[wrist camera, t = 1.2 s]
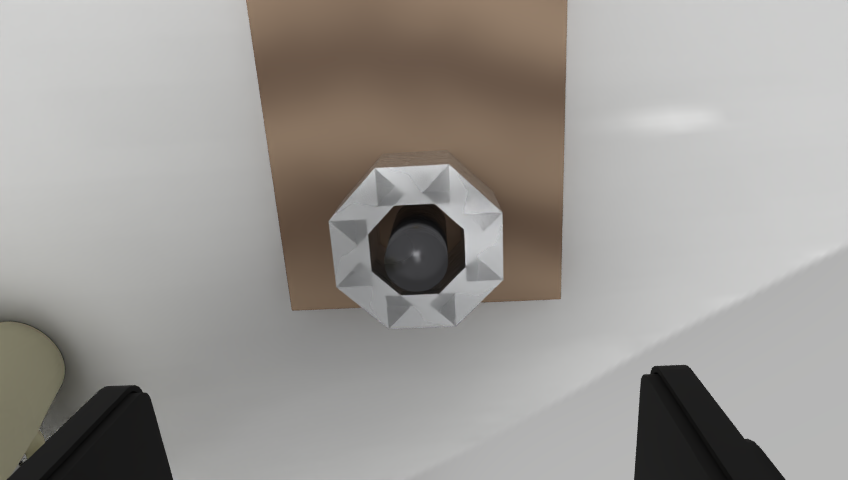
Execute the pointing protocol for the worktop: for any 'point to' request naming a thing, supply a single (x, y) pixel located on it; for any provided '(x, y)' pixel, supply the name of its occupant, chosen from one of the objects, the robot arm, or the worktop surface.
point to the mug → (25, 390)
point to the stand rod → (417, 248)
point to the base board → (414, 120)
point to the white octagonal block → (467, 263)
